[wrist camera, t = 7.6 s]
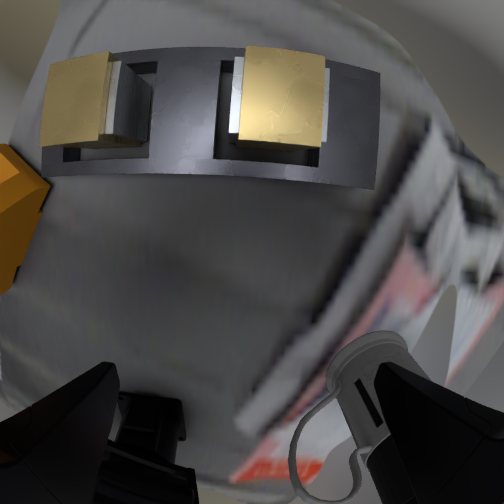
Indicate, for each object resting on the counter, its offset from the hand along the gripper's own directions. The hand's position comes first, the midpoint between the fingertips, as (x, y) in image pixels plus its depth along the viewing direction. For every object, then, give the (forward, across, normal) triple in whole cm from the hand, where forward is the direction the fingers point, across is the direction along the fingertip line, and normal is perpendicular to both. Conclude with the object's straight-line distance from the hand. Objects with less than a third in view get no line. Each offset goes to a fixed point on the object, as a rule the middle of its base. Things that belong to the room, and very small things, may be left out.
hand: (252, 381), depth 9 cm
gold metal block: (+12, -1, -10) cm, 16 cm away
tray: (+12, +3, -10) cm, 16 cm away
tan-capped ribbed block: (+12, +9, -10) cm, 18 cm away
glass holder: (+13, -10, +10) cm, 19 cm away
